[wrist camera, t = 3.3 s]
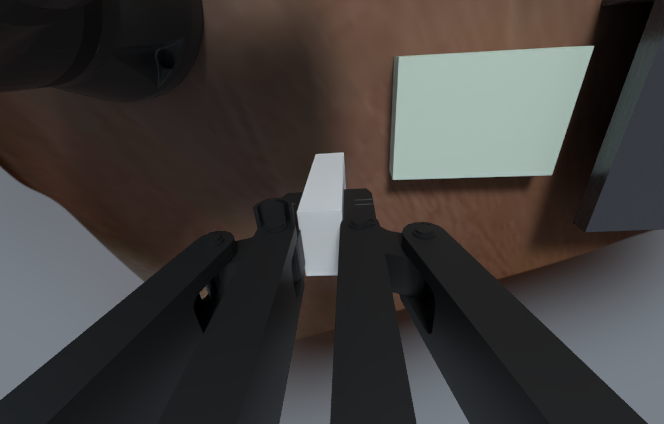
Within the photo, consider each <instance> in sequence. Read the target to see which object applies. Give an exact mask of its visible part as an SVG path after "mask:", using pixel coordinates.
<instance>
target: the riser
mask: <svg viewBox="0 0 664 424" xmlns="http://www.w3.org/2000/svg"><path fill="white" fill-rule="evenodd" d="M651 1H655V2H654V5H653V7H652V10H651V13H650V16H649V18H648V21H647V24H646V26H645V29H644V32H643V35H642V37H641V40H640V43H639V45H638V48H637V51H636V54H635V56H634V59H633V62H632V64H631V67H630V70H629V73H628V75H627V78H626V81H625V83H624V86H623V89H622V92H621V94H620V97H619V100H618V102H617V105H616V108H615V111H614V113H613V116H612V119H611V121H610V124H609V127H608V130H607V132H606V135H605V138H604V140H603V143H602V146H601V149H600V151H599V154H598V157H597V159H596V162H595V165H594V168H593V170H592V173H591V176H590V178H589V181H588V184H587V187H586V189H585V192H584V195H583V197H582V200H581V203H580V206H579V208H578V211H577V214H576V216H575V219H574V222H573V223H574V224H575V225H576V226H578V227H579V228H580V229H582V230H583V231H584V232H604V231H632V230H659V229H664V0H603V2H602V5H601V6H607V5H618V4H629V3H640V2H651Z"/></svg>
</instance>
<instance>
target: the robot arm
mask: <svg viewBox="0 0 664 424" xmlns="http://www.w3.org/2000/svg"><path fill="white" fill-rule="evenodd" d="M201 36H202V5H201V0H0V92H9V91H18V90H27V89H34V88H43V87H53V88H57V89H61V90H65V91H69V92H73V93H77V94H82V95H86V96H90V97H94V98H98V99H103V100H108V101H120V102H128V101H137V100H142V99H146V98H151V97H155V96H158V95H161V94H163V93H166V92H167V91H169V90H171V89H172V88H174V87H175V86H176V85H178V84H179V83H180V82H181V81H182V80H183V79H184V77H185V76H186V75H187V74H188V72H189V71H190V69H191V67H192V65H193V64H194V61H195V59H196V56H197V54H198V50H199V47H200V42H201ZM253 209H254V214H255V218H256V222H257V227H258V229H257V231H256V233H255V235H254V237H251V238H248V239H244V240H239V241H235V239H234V236H233V235H232V234H231V233H230V232H226V231H215V232H210V233H208V234H206V235H204V236H202V237H200V238H199V239H197V240H196V241H194V242H193V243H192V244H191V245H190V246H188V247H187V248H186V249H185V250H183V251H182V252H181V253H180V254H179V255H177V256H176V257H175V258H174V259H172V260H171V261H170V262H169V263H168V264H166V265H165V266H164V267H163V268H161V269H160V270H159V271H158V272H157V273H155V274H154V275H153V276H152V277H150V278H149V279H148V280H147V281H146V282H144V283H143V284H142V285H141V286H140V287H138V288H137V289H136V290H135V291H133V292H132V293H131V294H130V295H128V296H127V297H126V298H125V299H124V300H122V301H121V302H120V303H119V304H117V305H116V306H115V307H114V308H113V309H111V310H110V311H109V312H108V313H106V314H105V315H104V316H103V317H102V318H100V319H99V320H98V321H97V322H96V323H94V324H93V325H92V326H91V327H89V328H88V329H87V330H86V331H84V332H83V333H82V334H81V335H80V336H78V337H77V338H76V339H75V340H73V341H72V342H71V343H70V344H69V345H67V346H66V347H65V348H64V349H62V350H61V351H60V352H59V353H58V354H56V355H55V356H54V357H53V358H51V359H50V360H49V361H48V362H47V363H45V364H44V365H43V366H42V367H40V368H39V369H38V370H37V371H36V372H34V373H33V374H32V375H31V376H29V377H28V378H27V379H26V380H25V381H23V382H22V383H21V384H20V385H18V386H17V387H16V388H15V389H14V390H12V391H11V392H10V393H9V394H7V395H6V396H5V397H4V398H3V399H1V400H0V424H279V422H280V416H281V411H282V406H283V400H284V395H285V389H286V383H287V378H288V373H289V367H290V361H291V357H292V351H293V345H294V340H295V335H296V329H297V324H298V318H299V313H300V308H301V302H302V297H303V291H304V286H305V285H304V277H303V272H304V267H305V271H306V276H326V275H338V277H337V298H336V318H335V338H334V358H333V379H332V399H331V420H330V424H416V418H415V413H414V407H413V402H412V397H411V392H410V386H409V381H408V375H407V370H406V364H405V359H404V353H403V348H402V343H401V337H400V333H399V327H398V321H397V316H396V310H395V305H394V299H393V294H392V292H394V293H398V294H399V295H400V298H401V301H402V303H403V305H404V306H405V308H406V310H407V312H408V314H409V315H410V317H411V319H412V321H413V323H414V324H415V326H416V328H417V330H418V331H419V333H420V335H421V337H422V339H423V341H424V342H425V344H426V346H427V348H428V349H429V351H430V353H431V354H432V357H433V359H434V360H435V362H436V364H437V366H438V368H439V369H440V371H441V373H442V375H443V377H444V378H445V380H446V382H447V384H448V385H449V387H450V389H451V391H452V393H453V395H454V396H455V398H456V400H457V402H458V404H459V405H460V407H461V409H462V411H463V413H464V414H465V416H466V418H467V420H468V421H469V423H470V424H648V423H647V422H646V421H644V419H642V418H641V417H640V416H639V415H638V414H637V413H636V412H635V411H634V410H633V409H632V408H631V407H630V406H629V405H628V404H627V403H625V401H624V400H622V399H621V398H620V397H619V396H618V395H617V394H616V393H615V392H614V391H613V390H612V389H611V388H610V387H609V386H608V385H607V384H606V383H605V382H604V381H603V380H602V379H600V378H599V377H598V376H597V375H596V374H595V373H594V372H593V371H592V370H591V369H590V368H589V367H588V366H587V365H586V364H585V363H584V362H583V361H582V360H581V359H579V358H578V357H577V356H576V355H575V354H574V353H573V352H572V351H571V350H570V349H569V348H568V347H567V346H566V345H565V344H564V343H563V342H562V341H561V340H560V339H558V338H557V337H556V336H555V335H554V334H553V333H552V332H551V331H550V330H549V329H548V328H547V327H546V326H545V325H544V324H543V323H542V322H541V321H540V320H539V319H538V318H536V317H535V316H534V315H533V314H532V313H531V312H530V311H529V310H528V309H527V308H526V307H525V306H524V305H523V304H522V303H521V302H520V301H519V300H518V299H517V298H515V297H514V296H513V295H512V294H511V293H510V292H509V291H508V290H507V289H506V288H505V287H504V286H503V285H502V284H501V283H499V281H498V280H497V279H496V278H494V277H493V276H492V275H491V274H490V273H489V272H488V271H487V270H486V269H485V268H484V267H483V266H482V265H481V264H480V263H479V262H478V261H477V260H476V259H475V258H473V257H472V256H471V255H470V254H469V253H468V252H467V251H466V250H465V249H464V248H463V247H462V246H461V245H460V244H459V243H458V242H457V241H456V240H455V239H454V238H452V237H451V236H450V235H449V234H448V233H447V232H446V231H445V230H444V229H443V228H441V227H440V226H438V225H435V224H432V223H428V222H416V223H412V224H408V225H407V226H406V227H404V229H403V231H402V233H398V232H392V231H389V230H386V229H384V228H382V227H380V224H379V222H378V220H377V219H376V215H375V209H374V204H373V198H372V193H371V192H370V191H369V190H367V189H366V188H364V189H346V182H345V164H344V152H343V153H326V154H316V155H315V158H314V161H313V164H312V167H311V170H310V173H309V176H308V179H307V182H306V186H305V189H304V192H300V193H288V194H286V195H285V196H284V197H282V198H272V199H267V200H264V201H261V202H259V203H257V204H256V205H255V206H254V207H253ZM205 286H206V289H207V291H208V295H207V296H206V297H205V298H204V299H201V297H200V294H199V293H200V292H201V291H202V289H203V288H204V287H205Z"/></svg>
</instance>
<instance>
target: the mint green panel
mask: <svg viewBox="0 0 664 424" xmlns="http://www.w3.org/2000/svg"><path fill="white" fill-rule="evenodd" d="M593 49H594V46H573V47H554V48H537V49H519V50H502V51H484V52H467V53H449V54H432V55H414V56H397V57H394V73H393V95H392V118H391V140H390V163H389V171H390V174H391V177H392V180H408V179H441V178H475V177H509V176H543V175H552V174H553V171H554V167H555V164H556V161H557V158H558V155H559V152H560V149H561V146H562V143H563V140H564V137H565V134H566V131H567V128H568V125H569V122H570V119H571V116H572V113H573V110H574V107H575V103H576V100H577V97H578V94H579V91H580V88H581V85H582V82H583V79H584V76H585V73H586V70H587V67H588V64H589V61H590V58H591V55H592V52H593Z"/></svg>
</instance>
